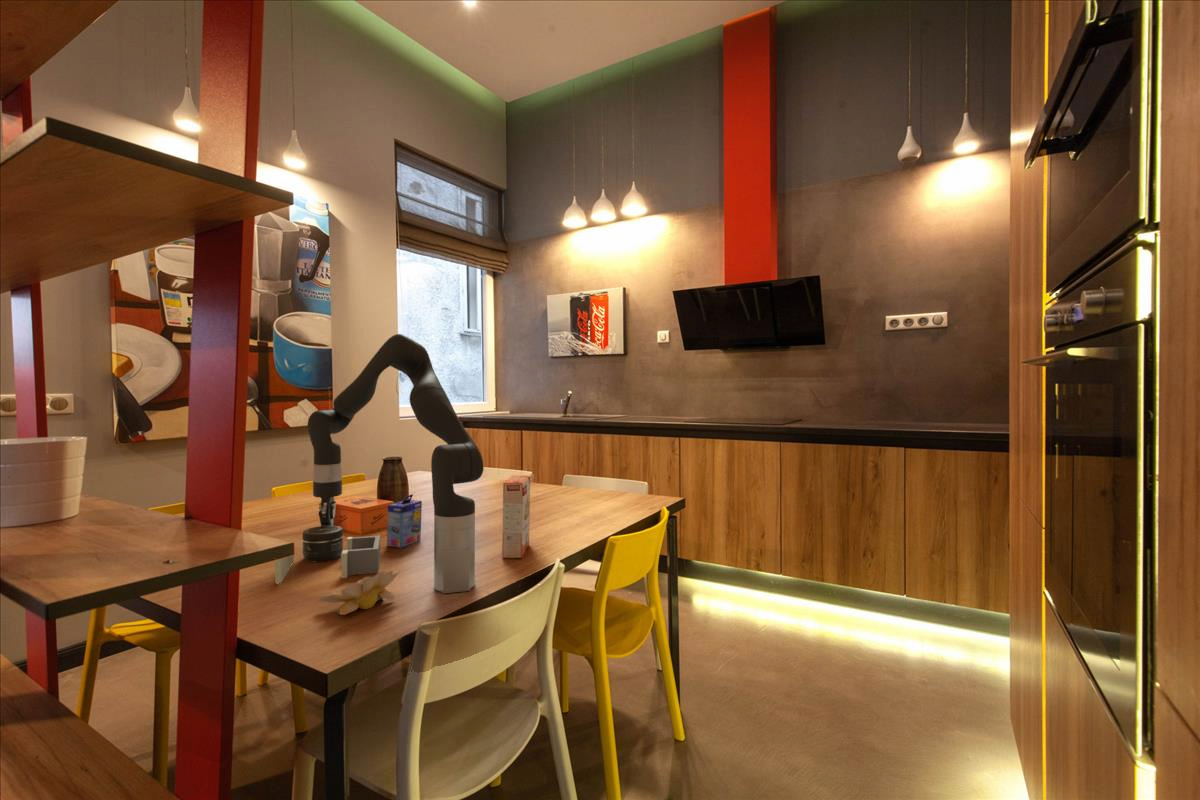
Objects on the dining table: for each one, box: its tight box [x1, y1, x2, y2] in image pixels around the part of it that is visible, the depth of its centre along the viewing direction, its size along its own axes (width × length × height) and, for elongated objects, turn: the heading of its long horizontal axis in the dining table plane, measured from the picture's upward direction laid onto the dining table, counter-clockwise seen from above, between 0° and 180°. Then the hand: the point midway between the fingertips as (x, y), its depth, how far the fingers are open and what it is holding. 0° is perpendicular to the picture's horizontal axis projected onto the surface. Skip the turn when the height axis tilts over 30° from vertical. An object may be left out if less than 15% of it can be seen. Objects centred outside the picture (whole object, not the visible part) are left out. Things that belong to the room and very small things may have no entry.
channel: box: [274, 535, 381, 585], centre depth 143 cm, size 16×22×6 cm
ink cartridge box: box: [386, 493, 423, 549], centre depth 168 cm, size 10×6×14 cm, turn 163°
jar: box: [301, 525, 344, 563], centre depth 153 cm, size 10×10×8 cm
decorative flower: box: [318, 570, 399, 616], centre depth 120 cm, size 15×11×10 cm
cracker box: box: [501, 474, 531, 559], centre depth 160 cm, size 14×6×21 cm, turn 179°
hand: (327, 539), depth 163 cm, fingers closed
